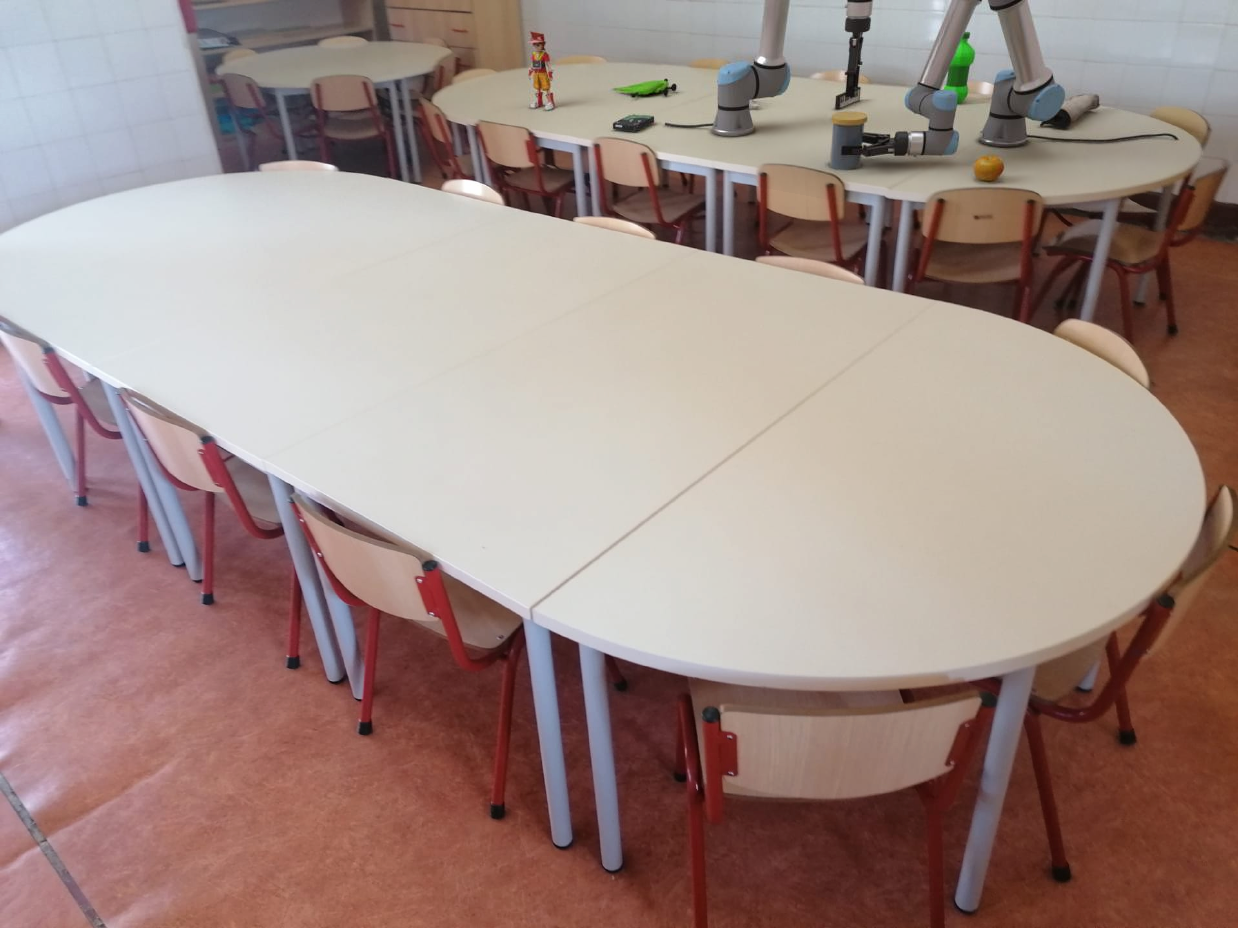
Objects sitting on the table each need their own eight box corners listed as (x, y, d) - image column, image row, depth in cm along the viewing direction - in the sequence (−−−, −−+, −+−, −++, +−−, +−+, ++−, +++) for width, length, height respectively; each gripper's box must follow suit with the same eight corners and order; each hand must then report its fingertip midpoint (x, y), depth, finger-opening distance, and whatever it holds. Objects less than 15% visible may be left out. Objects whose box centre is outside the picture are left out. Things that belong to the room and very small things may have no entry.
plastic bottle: (973, 101, 354) (984, 32, 339) (955, 106, 349) (966, 36, 335) (952, 97, 361) (962, 29, 346) (934, 102, 356) (944, 33, 342)
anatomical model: (725, 81, 368) (749, 74, 367) (729, 106, 374) (753, 100, 373) (732, 89, 356) (756, 82, 355) (736, 115, 362) (760, 109, 361)
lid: (839, 127, 283) (840, 121, 282) (825, 118, 292) (826, 113, 291) (873, 123, 284) (873, 118, 283) (857, 115, 293) (858, 109, 293)
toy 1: (525, 109, 381) (517, 32, 364) (534, 104, 388) (527, 28, 371) (550, 110, 377) (543, 32, 360) (559, 105, 384) (553, 28, 367)
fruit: (968, 171, 273) (986, 147, 270) (968, 173, 280) (985, 150, 277) (991, 186, 271) (1009, 163, 268) (990, 188, 279) (1008, 165, 276)
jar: (836, 170, 291) (841, 122, 283) (825, 162, 299) (828, 115, 291) (865, 167, 293) (870, 119, 284) (852, 159, 301) (857, 112, 292)
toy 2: (686, 85, 398) (631, 84, 414) (685, 72, 395) (629, 72, 411) (651, 104, 381) (596, 103, 397) (650, 92, 378) (594, 91, 394)
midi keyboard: (837, 109, 354) (838, 96, 352) (834, 109, 355) (835, 95, 352) (859, 100, 365) (861, 87, 362) (857, 99, 366) (858, 86, 363)
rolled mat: (1067, 99, 337) (1091, 81, 329) (1080, 119, 338) (1105, 102, 330) (1036, 120, 320) (1061, 102, 312) (1050, 141, 321) (1075, 124, 312)
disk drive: (635, 133, 342) (654, 123, 352) (635, 125, 340) (654, 115, 350) (612, 130, 346) (632, 120, 356) (612, 123, 345) (631, 113, 355)
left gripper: (849, 10, 281) (843, 83, 293) (841, 24, 262) (835, 101, 275) (874, 10, 279) (866, 83, 291) (867, 24, 260) (860, 101, 273)
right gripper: (910, 167, 281) (841, 167, 284) (901, 144, 301) (836, 145, 304) (913, 142, 277) (843, 143, 280) (904, 121, 297) (838, 122, 300)
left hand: (851, 92), depth 283 cm, fingers open, 12 cm apart
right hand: (839, 144), depth 292 cm, fingers open, 13 cm apart
